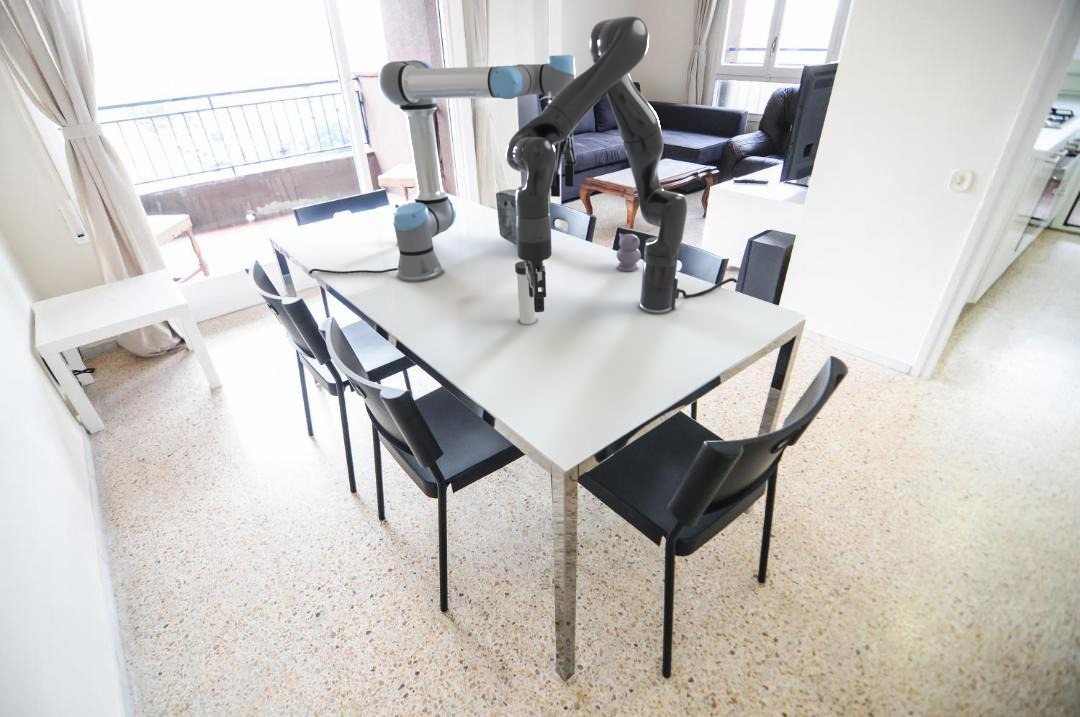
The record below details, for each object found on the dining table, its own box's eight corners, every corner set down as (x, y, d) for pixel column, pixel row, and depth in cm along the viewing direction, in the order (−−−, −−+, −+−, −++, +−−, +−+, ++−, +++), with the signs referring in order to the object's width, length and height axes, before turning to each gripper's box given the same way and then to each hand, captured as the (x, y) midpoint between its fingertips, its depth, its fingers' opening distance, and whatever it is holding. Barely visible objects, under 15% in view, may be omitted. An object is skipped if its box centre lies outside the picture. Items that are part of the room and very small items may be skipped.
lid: (516, 275, 132) (515, 268, 131) (514, 268, 136) (513, 261, 135) (536, 273, 132) (536, 267, 131) (533, 266, 137) (533, 260, 136)
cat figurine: (644, 267, 174) (647, 233, 167) (631, 274, 169) (634, 239, 163) (624, 262, 179) (626, 229, 172) (611, 268, 174) (612, 234, 168)
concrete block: (555, 253, 189) (554, 199, 179) (537, 258, 185) (534, 204, 174) (517, 236, 208) (514, 187, 197) (499, 241, 203) (495, 191, 193)
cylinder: (520, 325, 140) (517, 269, 131) (519, 318, 144) (515, 263, 135) (536, 323, 141) (534, 268, 132) (534, 316, 144) (532, 262, 136)
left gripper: (560, 121, 134) (561, 201, 145) (586, 112, 154) (585, 183, 165) (534, 121, 137) (537, 200, 148) (563, 112, 156) (564, 181, 167)
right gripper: (557, 244, 102) (558, 315, 110) (545, 224, 114) (547, 290, 122) (520, 247, 101) (524, 318, 109) (513, 227, 113) (516, 293, 121)
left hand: (562, 191), depth 156 cm, fingers open, 13 cm apart
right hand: (536, 303), depth 116 cm, fingers open, 8 cm apart
